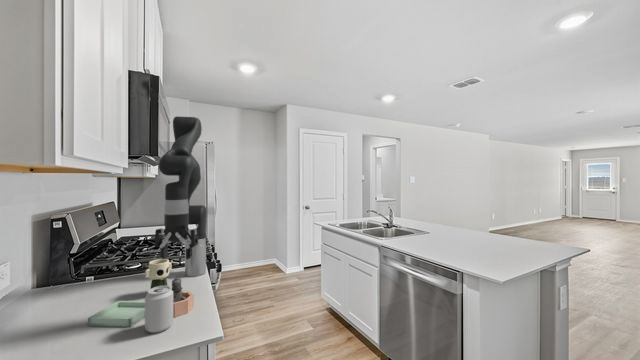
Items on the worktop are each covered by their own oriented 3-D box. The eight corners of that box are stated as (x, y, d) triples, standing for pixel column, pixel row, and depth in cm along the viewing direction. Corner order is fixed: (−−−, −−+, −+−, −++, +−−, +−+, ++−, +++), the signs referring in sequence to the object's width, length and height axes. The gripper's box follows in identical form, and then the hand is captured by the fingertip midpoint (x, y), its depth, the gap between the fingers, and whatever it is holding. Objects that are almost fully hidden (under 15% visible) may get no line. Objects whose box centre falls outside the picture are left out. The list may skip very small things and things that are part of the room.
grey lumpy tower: (167, 308, 95) (167, 274, 95) (186, 304, 97) (186, 272, 97) (166, 315, 90) (166, 280, 90) (185, 312, 92) (185, 277, 92)
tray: (118, 307, 96) (118, 300, 96) (156, 308, 95) (156, 301, 95) (87, 325, 84) (87, 318, 84) (131, 326, 83) (131, 319, 83)
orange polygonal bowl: (171, 303, 99) (171, 291, 99) (197, 303, 98) (197, 291, 98) (153, 317, 89) (153, 303, 89) (182, 317, 88) (182, 304, 88)
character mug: (151, 300, 101) (151, 266, 101) (139, 297, 104) (139, 264, 104) (177, 289, 111) (177, 258, 111) (165, 287, 114) (165, 256, 114)
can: (167, 318, 88) (167, 282, 88) (177, 326, 83) (177, 288, 83) (141, 328, 82) (141, 289, 82) (150, 337, 77) (150, 296, 77)
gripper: (201, 211, 97) (201, 255, 97) (163, 211, 98) (163, 255, 98) (190, 213, 90) (190, 262, 89) (149, 213, 90) (149, 261, 90)
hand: (176, 258), depth 94 cm, fingers open, 8 cm apart
